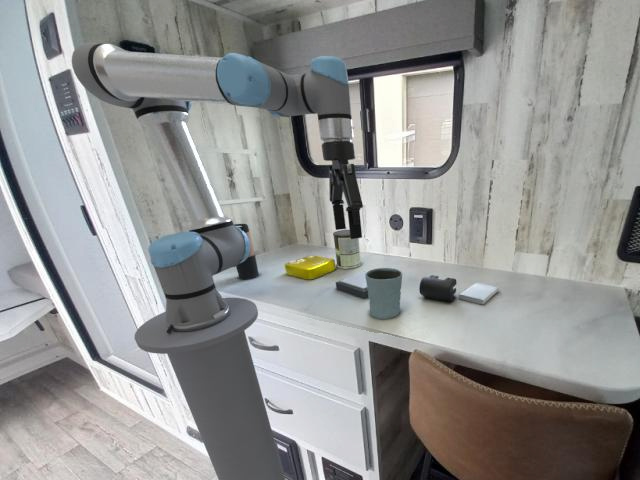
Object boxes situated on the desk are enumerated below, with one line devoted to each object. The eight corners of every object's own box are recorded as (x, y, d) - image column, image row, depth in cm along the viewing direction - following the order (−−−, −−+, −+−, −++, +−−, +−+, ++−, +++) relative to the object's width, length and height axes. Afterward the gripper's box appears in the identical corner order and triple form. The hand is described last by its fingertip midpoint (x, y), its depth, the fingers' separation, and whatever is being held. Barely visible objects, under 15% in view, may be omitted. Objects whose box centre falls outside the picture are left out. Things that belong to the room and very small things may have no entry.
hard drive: (483, 300, 91) (498, 286, 100) (458, 294, 96) (475, 282, 105) (483, 305, 92) (498, 291, 101) (458, 298, 97) (475, 286, 105)
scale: (364, 298, 99) (363, 289, 97) (336, 289, 107) (335, 280, 106) (392, 285, 108) (392, 277, 107) (365, 277, 117) (364, 269, 115)
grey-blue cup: (361, 312, 90) (358, 273, 85) (388, 301, 96) (386, 265, 91) (383, 324, 83) (380, 282, 78) (410, 312, 89) (409, 273, 84)
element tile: (310, 280, 115) (308, 268, 113) (284, 274, 123) (281, 263, 121) (337, 269, 127) (336, 258, 125) (312, 264, 134) (310, 253, 132)
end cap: (419, 300, 97) (419, 279, 94) (428, 292, 102) (428, 272, 99) (449, 305, 92) (449, 285, 89) (457, 297, 98) (458, 277, 95)
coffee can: (331, 266, 130) (327, 233, 124) (347, 260, 138) (344, 228, 132) (350, 270, 125) (347, 235, 119) (365, 263, 133) (363, 230, 127)
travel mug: (234, 279, 119) (220, 227, 111) (247, 272, 126) (235, 223, 118) (251, 280, 117) (238, 227, 109) (263, 273, 124) (252, 223, 116)
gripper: (372, 136, 62) (379, 240, 71) (338, 144, 83) (347, 224, 91) (335, 137, 59) (348, 245, 68) (310, 145, 80) (322, 227, 89)
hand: (348, 233), depth 80 cm, fingers open, 13 cm apart
